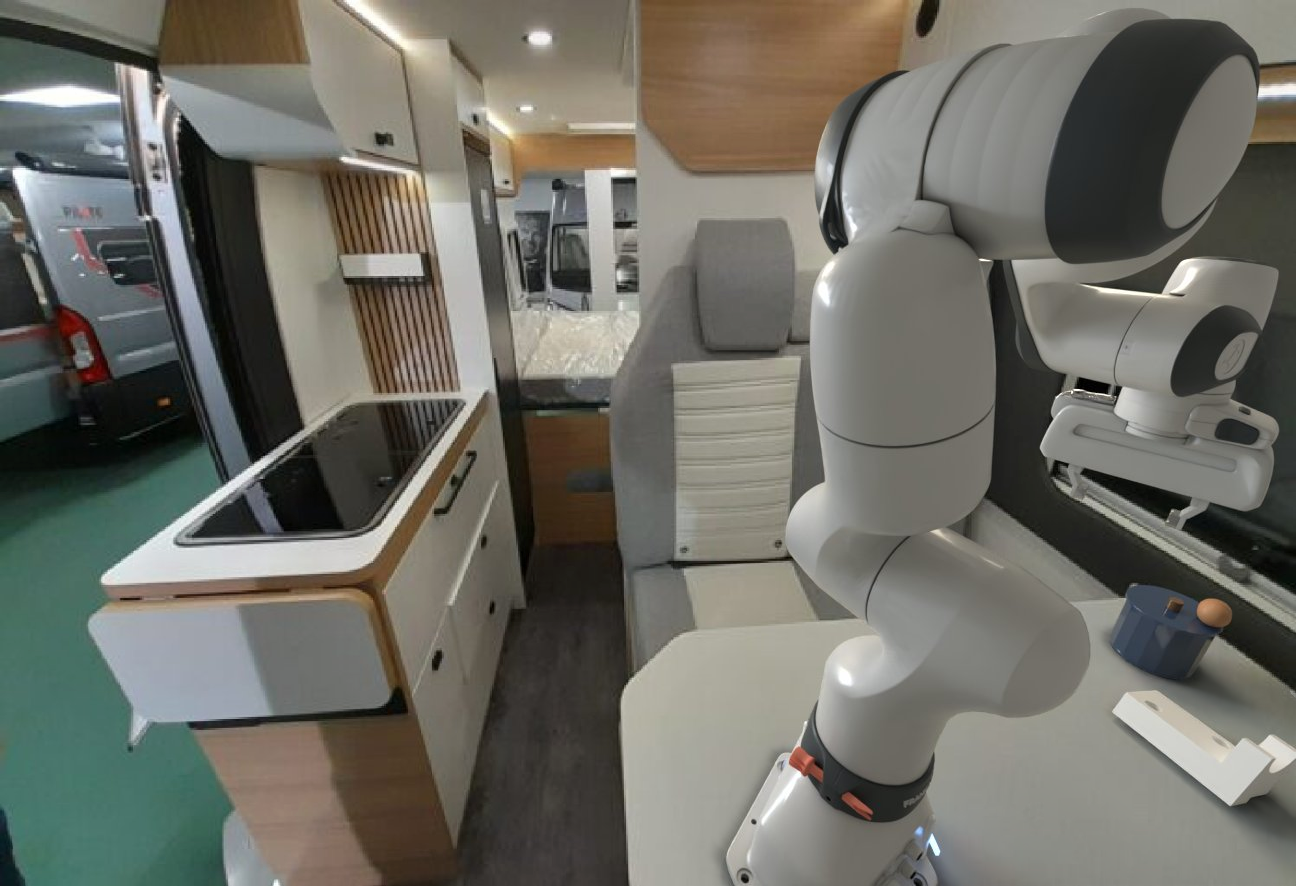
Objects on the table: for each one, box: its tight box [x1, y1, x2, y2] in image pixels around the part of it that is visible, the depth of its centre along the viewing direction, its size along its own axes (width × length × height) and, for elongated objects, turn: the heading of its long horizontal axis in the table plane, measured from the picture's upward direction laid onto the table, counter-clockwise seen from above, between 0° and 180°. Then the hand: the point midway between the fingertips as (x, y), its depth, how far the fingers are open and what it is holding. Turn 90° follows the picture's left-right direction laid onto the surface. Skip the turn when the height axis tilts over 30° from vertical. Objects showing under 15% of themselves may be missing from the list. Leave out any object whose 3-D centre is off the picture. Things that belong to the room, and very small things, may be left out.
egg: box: [1197, 598, 1233, 628], centre depth 77 cm, size 5×3×3 cm
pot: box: [1108, 598, 1216, 680], centre depth 82 cm, size 10×10×8 cm
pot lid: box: [1125, 584, 1224, 637], centre depth 80 cm, size 11×11×3 cm
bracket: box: [1111, 689, 1296, 807], centre depth 67 cm, size 13×7×8 cm, turn 17°
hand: (1122, 510), depth 67 cm, fingers open, 8 cm apart
